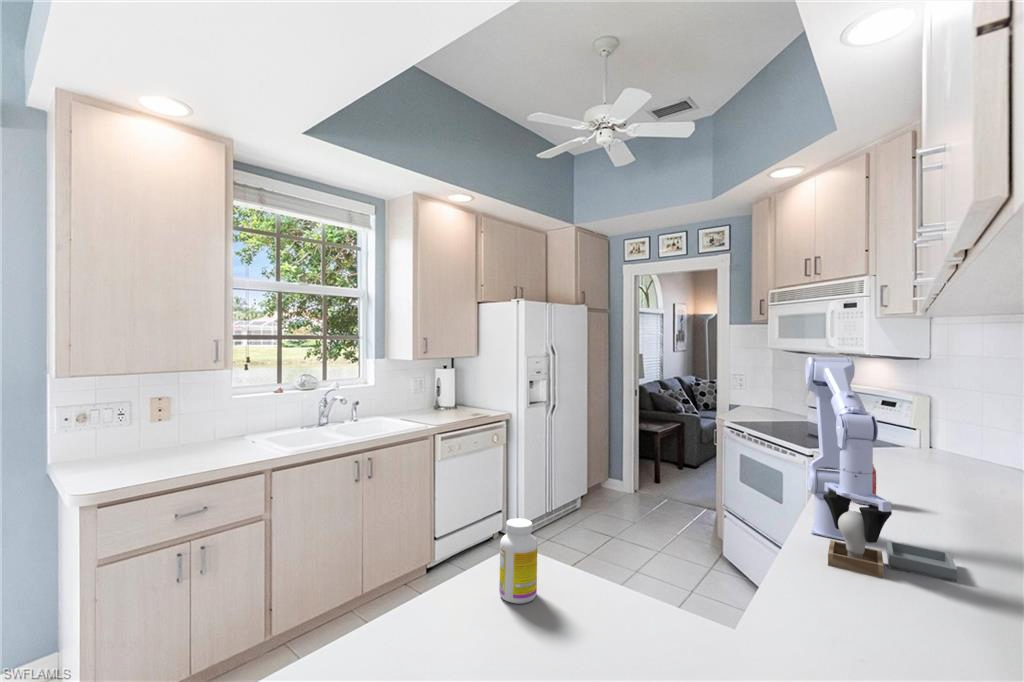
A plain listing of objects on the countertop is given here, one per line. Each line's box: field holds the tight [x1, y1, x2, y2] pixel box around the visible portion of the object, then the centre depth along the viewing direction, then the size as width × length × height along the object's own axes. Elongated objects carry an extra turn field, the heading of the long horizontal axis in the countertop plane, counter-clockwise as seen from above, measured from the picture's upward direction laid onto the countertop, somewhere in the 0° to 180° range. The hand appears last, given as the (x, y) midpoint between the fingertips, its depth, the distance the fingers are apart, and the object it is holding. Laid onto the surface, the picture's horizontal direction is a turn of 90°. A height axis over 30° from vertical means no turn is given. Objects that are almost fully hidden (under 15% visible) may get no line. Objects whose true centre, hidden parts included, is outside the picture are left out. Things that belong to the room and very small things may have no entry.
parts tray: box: [886, 539, 958, 583], centre depth 101 cm, size 11×11×2 cm
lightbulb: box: [838, 510, 868, 560], centre depth 102 cm, size 6×6×11 cm
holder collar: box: [827, 539, 884, 579], centre depth 101 cm, size 9×9×2 cm
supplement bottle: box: [498, 517, 538, 605], centre depth 85 cm, size 7×7×13 cm
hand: (855, 535), depth 101 cm, fingers open, 7 cm apart
